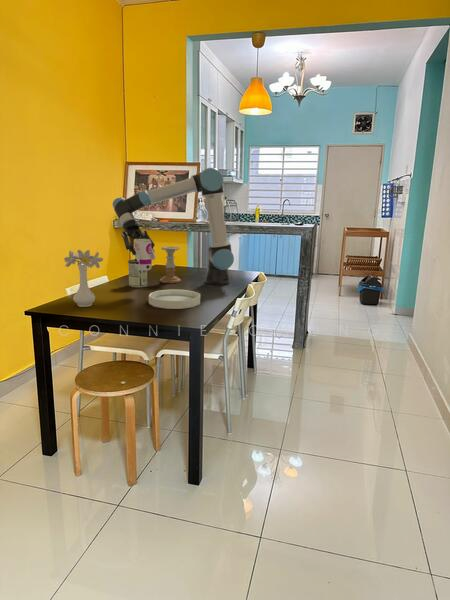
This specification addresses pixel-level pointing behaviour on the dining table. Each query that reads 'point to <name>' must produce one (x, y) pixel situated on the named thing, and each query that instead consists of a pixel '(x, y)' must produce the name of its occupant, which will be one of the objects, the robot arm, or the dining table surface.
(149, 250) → the supplement can
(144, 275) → the coffee can
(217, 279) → the robot arm
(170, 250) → the candle holder
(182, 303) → the ceramic bowl
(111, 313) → the dining table surface
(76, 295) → the flower vase
